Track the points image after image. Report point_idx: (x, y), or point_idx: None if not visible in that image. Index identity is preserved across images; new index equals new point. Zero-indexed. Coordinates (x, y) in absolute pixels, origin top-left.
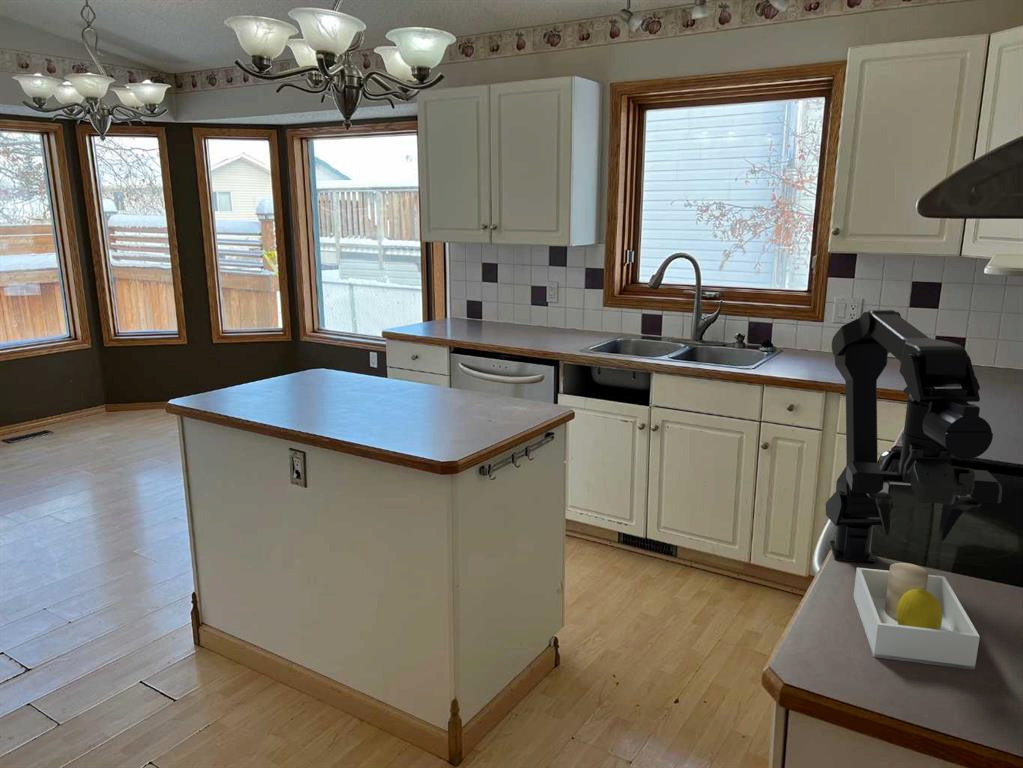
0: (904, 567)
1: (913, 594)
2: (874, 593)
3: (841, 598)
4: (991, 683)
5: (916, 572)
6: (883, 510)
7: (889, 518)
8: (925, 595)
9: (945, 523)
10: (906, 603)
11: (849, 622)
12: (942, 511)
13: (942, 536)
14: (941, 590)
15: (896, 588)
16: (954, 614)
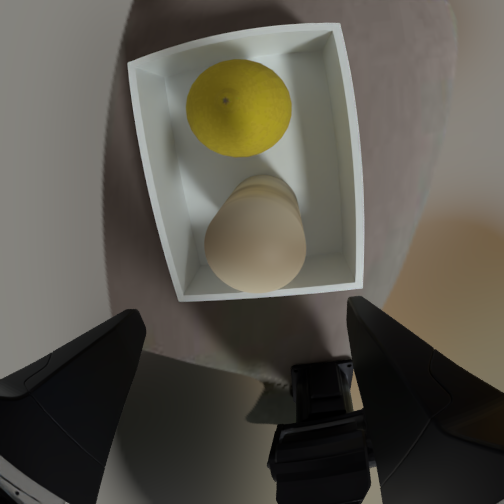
0: (264, 266)
1: (254, 86)
2: (313, 259)
3: (369, 241)
4: (143, 52)
5: (234, 246)
6: (451, 377)
7: (386, 350)
8: (220, 84)
9: (90, 356)
10: (273, 77)
11: (365, 154)
12: (112, 424)
13: (125, 316)
14: (188, 274)
15: (287, 200)
16: (167, 184)
